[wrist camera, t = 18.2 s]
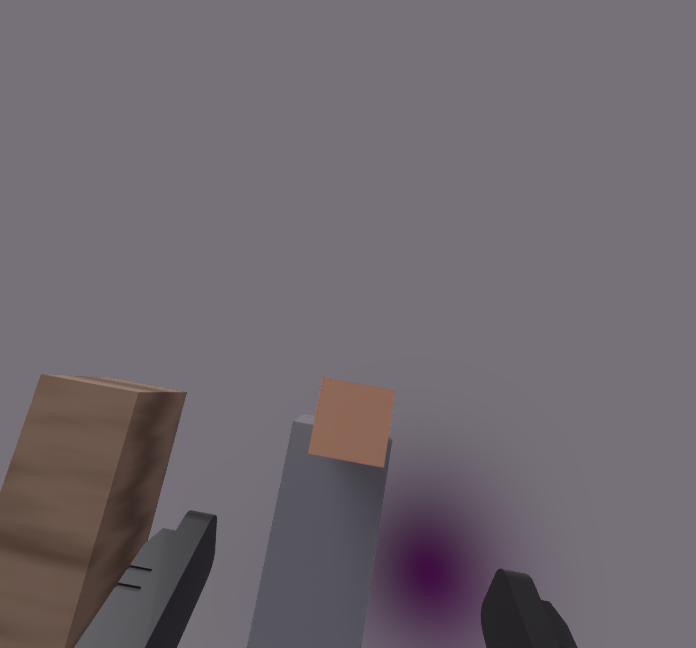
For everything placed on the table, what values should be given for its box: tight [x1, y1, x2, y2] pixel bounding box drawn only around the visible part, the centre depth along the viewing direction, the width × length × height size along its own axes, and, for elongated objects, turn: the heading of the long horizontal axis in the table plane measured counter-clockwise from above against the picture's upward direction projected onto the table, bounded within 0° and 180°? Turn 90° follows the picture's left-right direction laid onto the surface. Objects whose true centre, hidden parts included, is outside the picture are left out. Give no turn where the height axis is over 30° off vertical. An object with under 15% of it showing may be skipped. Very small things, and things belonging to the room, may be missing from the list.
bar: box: [308, 377, 395, 468], centre depth 28 cm, size 28×3×3 cm, turn 1°
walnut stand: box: [0, 374, 187, 648], centre depth 26 cm, size 8×7×32 cm
